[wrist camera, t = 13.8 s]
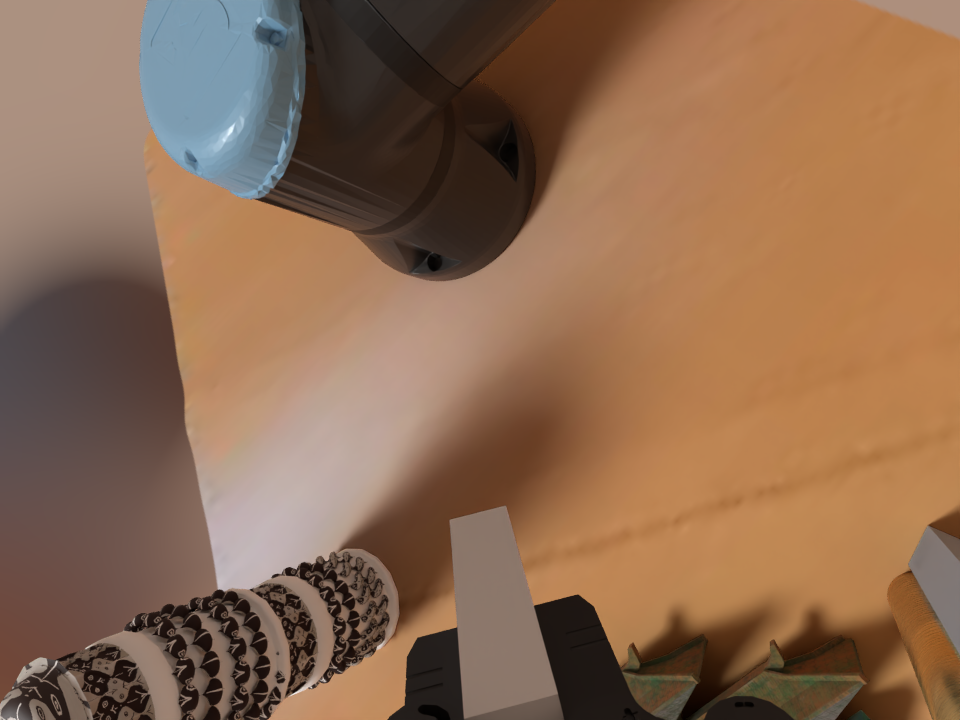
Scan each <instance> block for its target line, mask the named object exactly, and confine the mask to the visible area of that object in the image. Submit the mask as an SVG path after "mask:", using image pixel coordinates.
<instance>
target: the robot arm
mask: <svg viewBox="0 0 960 720" xmlns="http://www.w3.org/2000/svg"><path fill="white" fill-rule="evenodd" d="M555 1H556V0H148V1H147V5H146V9H145V13H144V17H143V23H142V30H141V39H140V62H139V66H140V67H139V68H140V84H141V91H142V96H143V101H144V105H145V110H146V113H147V116H148V119H149V122H150V124H151V127H152V129H153V131H154V133H155V135H156V137H157V139H158V141H159V142H160V144H161V146H162V147H163V148H164V150H165V151H166V152H167V153H168V155H169V156H170V157H171V158H172V159H173V160H174V161H175V162H176V163H177V164H179V165H180V166H181V167H182V168H184V169H185V170H187V171H188V172H190V173H192V174H194V175H196V176H198V177H201V178H203V179H205V180H207V181H210V182H212V183H214V184H216V185H218V186H221V187H223V188H225V189H227V190H229V191H230V192H231V193H233V194H235V195H236V196H238V197H241V198H246V199H250V200H252V199H255V200H258V201H262V202H265V203H268V204H271V205H274V206H277V207H280V208H283V209H286V210H289V211H292V212H295V213H298V214H301V215H304V216H307V217H310V218H313V219H316V220H319V221H322V222H325V223H328V224H331V225H334V226H337V227H340V228H344V229H346V230H349V231H352V232H353V233H354V234H355V235H356V236H357V237H358V238H359V239H360V240H361V241H362V242H363V243H364V244H365V245H366V246H367V247H368V248H369V249H370V250H371V251H372V252H373V253H374V254H375V255H376V256H377V257H378V258H379V259H380V260H381V261H382V262H384V263H385V264H387V265H388V266H390V267H391V268H393V269H395V270H397V271H399V272H401V273H404V274H407V275H410V276H414V277H417V278H421V279H425V280H430V281H448V280H454V279H458V278H462V277H465V276H468V275H470V274H472V273H474V272H476V271H478V270H480V269H482V268H483V267H485V266H486V265H488V264H489V263H490V262H492V261H493V260H494V259H495V258H496V257H497V256H498V255H499V254H500V253H501V252H502V251H503V250H504V249H505V248H506V247H507V246H508V245H509V243H510V242H511V241H512V239H513V238H514V237H515V235H516V234H517V232H518V230H519V229H520V227H521V225H522V223H523V221H524V219H525V217H526V214H527V212H528V209H529V206H530V203H531V199H532V195H533V190H534V184H535V172H536V170H535V155H534V149H533V145H532V141H531V138H530V135H529V133H528V130H527V128H526V126H525V124H524V122H523V121H522V119H521V118H520V116H519V115H518V114H517V112H516V111H515V110H514V109H513V108H512V107H511V106H510V105H509V104H508V103H507V102H506V101H505V100H504V99H503V98H502V97H501V96H499V95H498V94H497V93H496V92H495V91H493V90H492V89H491V88H489V87H487V86H486V85H484V84H482V83H480V82H477V81H475V80H473V79H474V78H475V77H476V76H477V75H478V74H479V73H480V72H481V71H482V70H484V69H485V68H486V67H487V66H488V65H489V64H490V63H491V62H492V61H493V60H494V59H495V58H496V57H497V56H498V55H499V54H500V53H501V52H502V51H503V50H504V49H506V48H507V47H508V46H509V45H510V44H511V43H512V42H513V41H514V40H515V39H516V38H517V37H518V36H519V35H520V34H521V33H522V32H523V31H524V30H525V29H527V28H528V27H529V26H530V25H531V24H532V23H533V22H534V21H535V20H536V19H537V18H538V17H539V16H540V15H541V14H542V13H543V12H544V11H545V10H546V9H547V8H549V7H550V6H551V5H552V4H553V3H554V2H555ZM450 533H451V547H452V560H453V574H454V588H455V602H456V615H457V628H453V629H450V630H446V631H442V632H438V633H434V634H430V635H426V636H423V637H419V638H417V640H416V641H415V643H414V645H413V647H412V649H411V651H410V653H409V654H408V656H407V668H406V678H407V680H406V689H405V693H406V697H405V706H403V707H402V708H400V709H399V710H398V711H396V712H395V713H394V714H393V715H391V716H390V717H389V719H388V720H665V719H662V718H659V717H656V716H654V715H652V714H651V713H649V712H647V711H646V710H644V709H643V708H642V707H641V706H640V705H639V704H638V703H637V702H636V700H635V699H634V697H633V696H632V694H631V692H630V689H629V687H628V685H627V682H626V680H625V678H624V676H623V673H622V671H621V669H620V666H619V664H618V662H617V659H616V657H615V655H614V652H613V650H612V648H611V645H610V643H609V641H608V639H607V636H606V634H605V632H604V629H603V627H602V625H601V622H600V620H599V618H598V615H597V613H596V611H595V608H594V606H592V605H591V604H590V603H588V602H587V601H586V600H585V599H583V598H582V597H581V596H579V595H574V596H570V597H566V598H562V599H558V600H554V601H551V602H547V603H543V604H539V605H535V606H534V605H533V602H532V598H531V594H530V591H529V587H528V583H527V580H526V576H525V573H524V569H523V565H522V562H521V558H520V554H519V551H518V547H517V544H516V540H515V536H514V533H513V529H512V525H511V522H510V518H509V515H508V511H507V507H506V505H505V506H501V507H498V508H494V509H490V510H486V511H482V512H478V513H474V514H470V515H466V516H462V517H458V518H454V519H450ZM704 720H794V719H793V718H792V717H791V716H790V715H789V714H788V713H786V712H785V711H784V710H782V709H781V708H779V707H778V706H776V705H775V704H773V703H772V702H770V701H767V700H763V699H760V698H757V697H753V696H733V697H730V698H726V699H723V700H720V701H718V702H717V703H716V704H715V705H713V706H712V707H711V708H710V709H709V710H708V711H707V714H706V716H705V718H704Z"/></svg>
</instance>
